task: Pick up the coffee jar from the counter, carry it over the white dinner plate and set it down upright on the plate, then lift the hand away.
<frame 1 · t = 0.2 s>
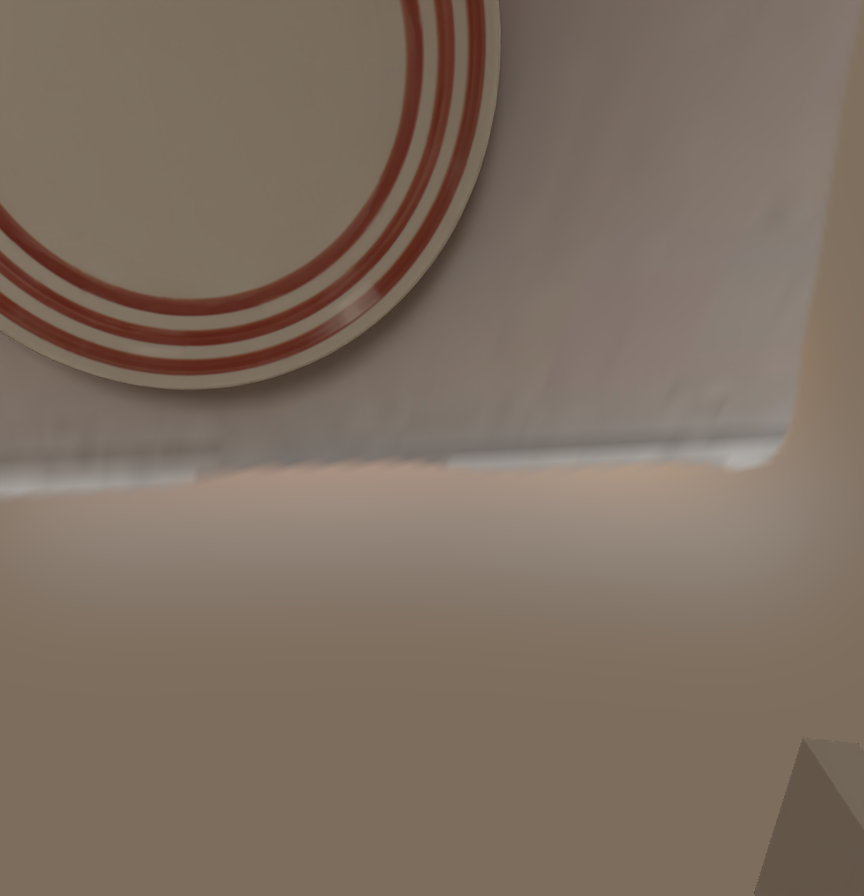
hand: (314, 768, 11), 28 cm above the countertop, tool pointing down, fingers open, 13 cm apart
dinner plate: (180, 64, 34), on the countertop
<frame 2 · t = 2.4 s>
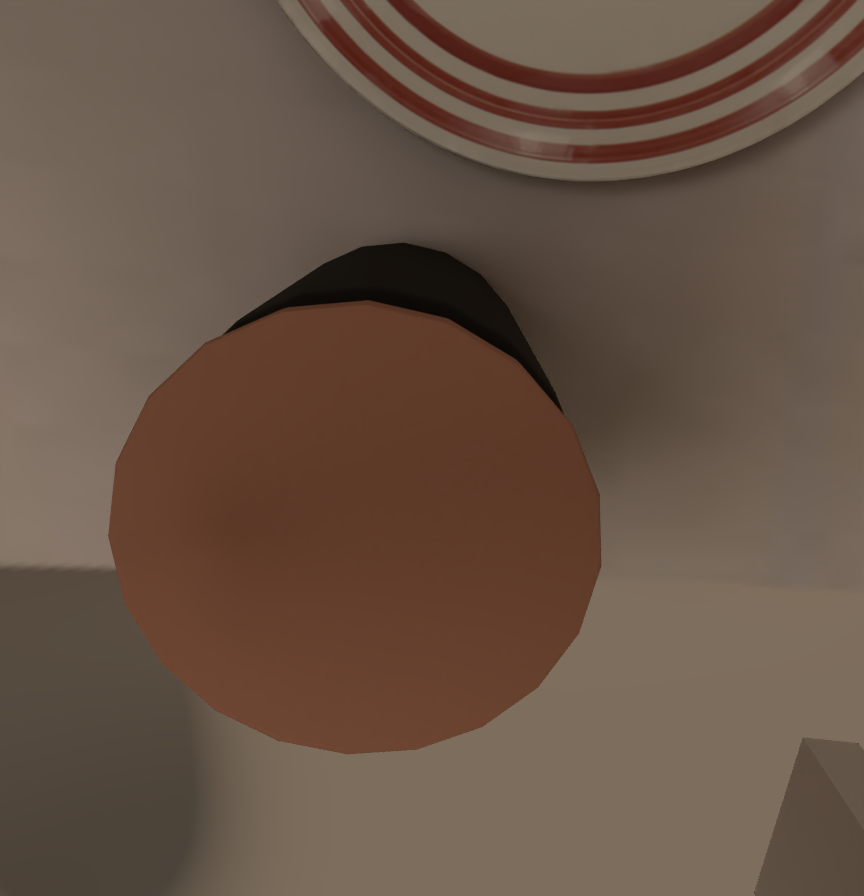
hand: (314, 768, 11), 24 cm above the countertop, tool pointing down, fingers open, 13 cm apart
coffee jar: (398, 366, 34), on the countertop
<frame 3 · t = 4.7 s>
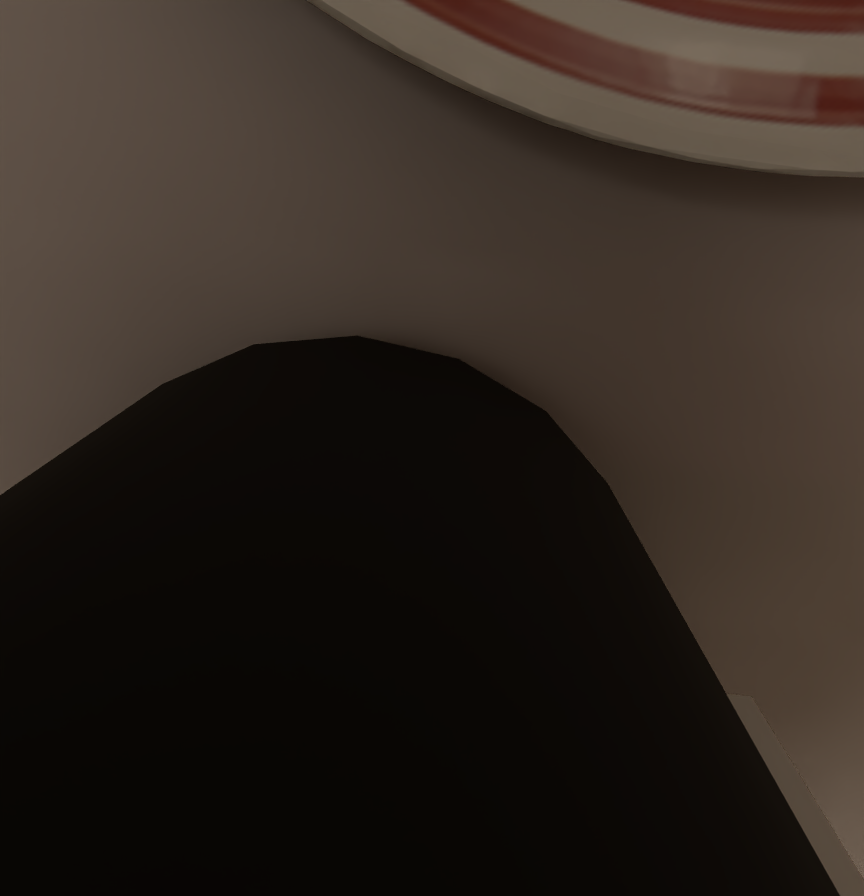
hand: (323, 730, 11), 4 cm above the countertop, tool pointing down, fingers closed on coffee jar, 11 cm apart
coffee jar: (354, 588, 15), on the countertop, touching gripper
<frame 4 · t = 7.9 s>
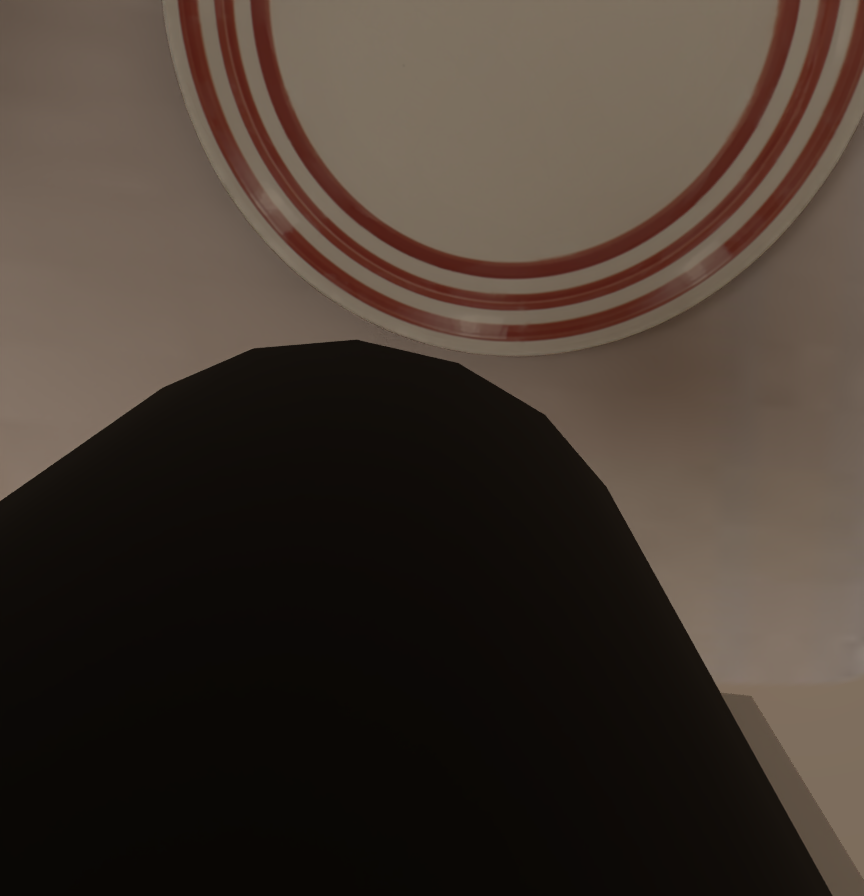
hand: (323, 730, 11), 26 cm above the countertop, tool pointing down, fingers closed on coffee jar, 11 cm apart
dinner plate: (517, 11, 32), on the countertop
coffee jar: (353, 591, 15), point 21 cm above the countertop, touching gripper
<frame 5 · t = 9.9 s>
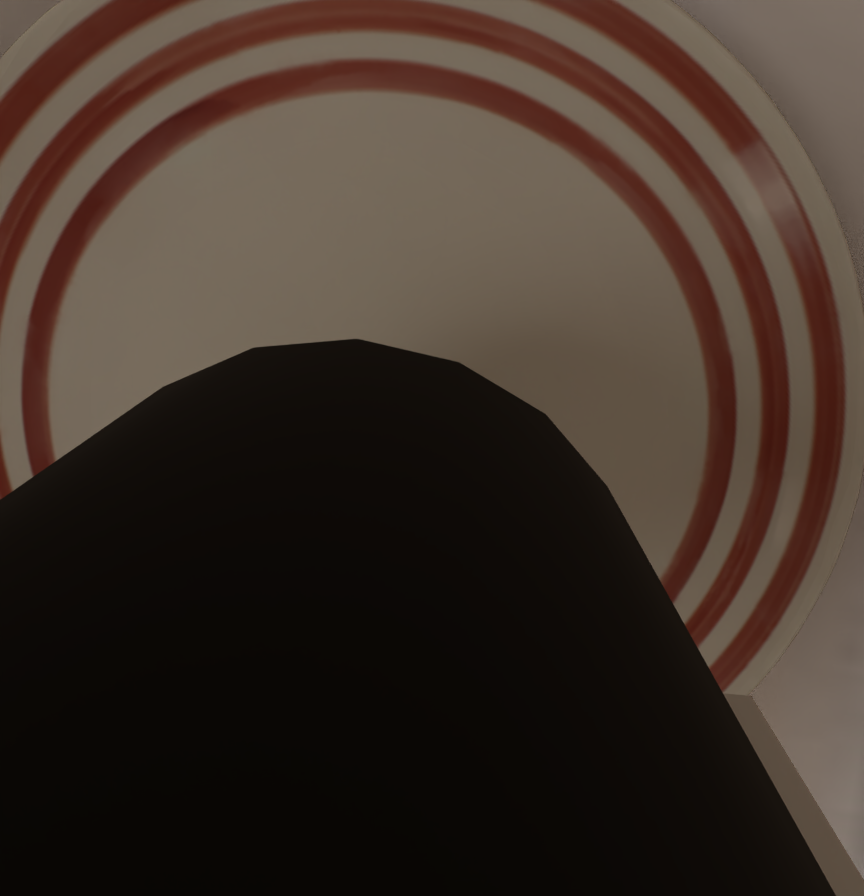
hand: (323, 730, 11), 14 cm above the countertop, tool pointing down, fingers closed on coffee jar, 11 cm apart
dinner plate: (379, 434, 25), on the countertop
coffee jar: (354, 591, 15), point 10 cm above the countertop, touching gripper
when the fingers open (8 cm above the countertop, at t = 11.5 s): coffee jar drops 1 cm, resting on dinner plate.
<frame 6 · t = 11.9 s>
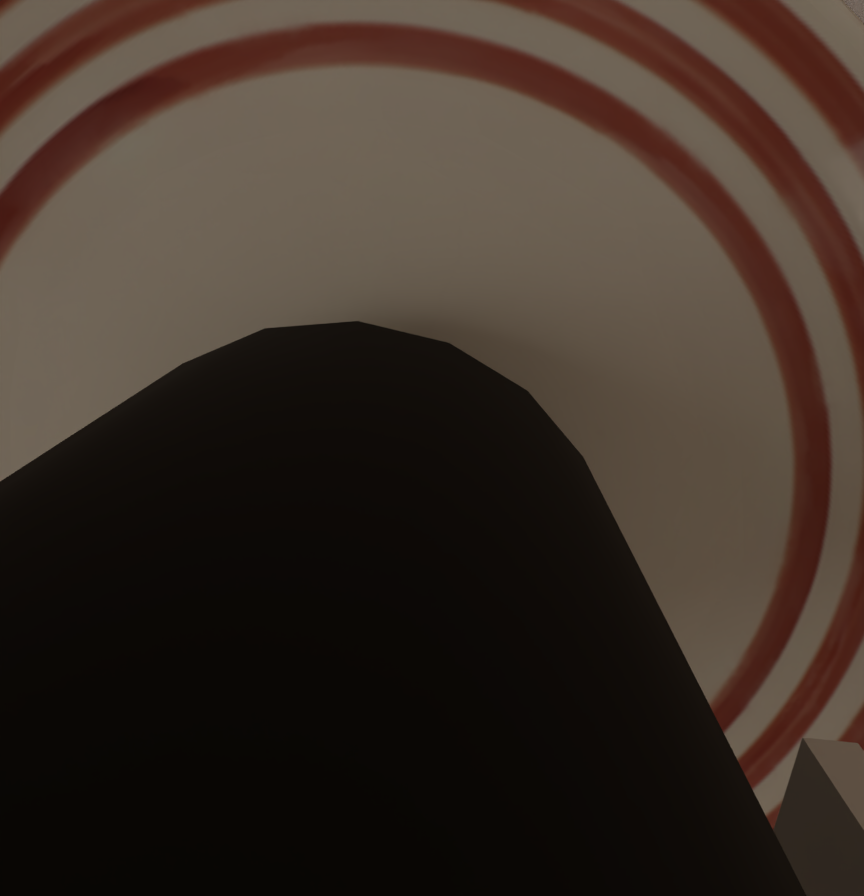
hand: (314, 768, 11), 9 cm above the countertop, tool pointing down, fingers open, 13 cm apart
dinner plate: (374, 498, 20), on the countertop, touching coffee jar
coffee jar: (354, 555, 17), point 3 cm above the countertop, touching dinner plate
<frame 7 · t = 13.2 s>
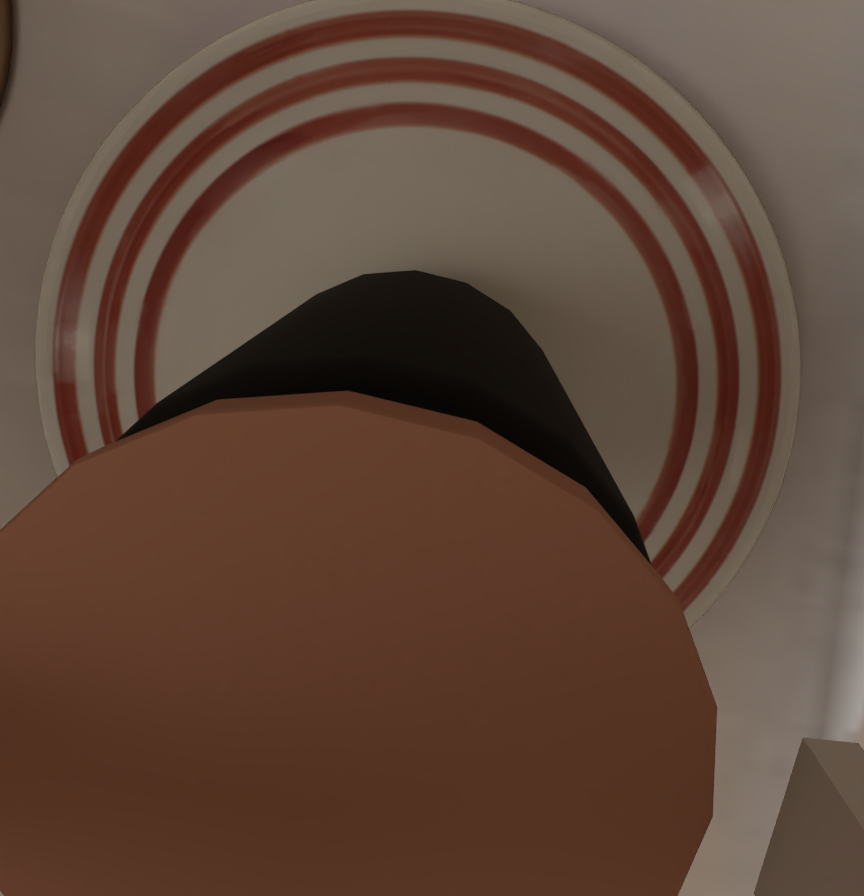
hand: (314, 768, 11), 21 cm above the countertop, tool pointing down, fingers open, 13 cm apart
dinner plate: (413, 397, 31), on the countertop, touching coffee jar
coffee jar: (406, 418, 28), point 3 cm above the countertop, touching dinner plate
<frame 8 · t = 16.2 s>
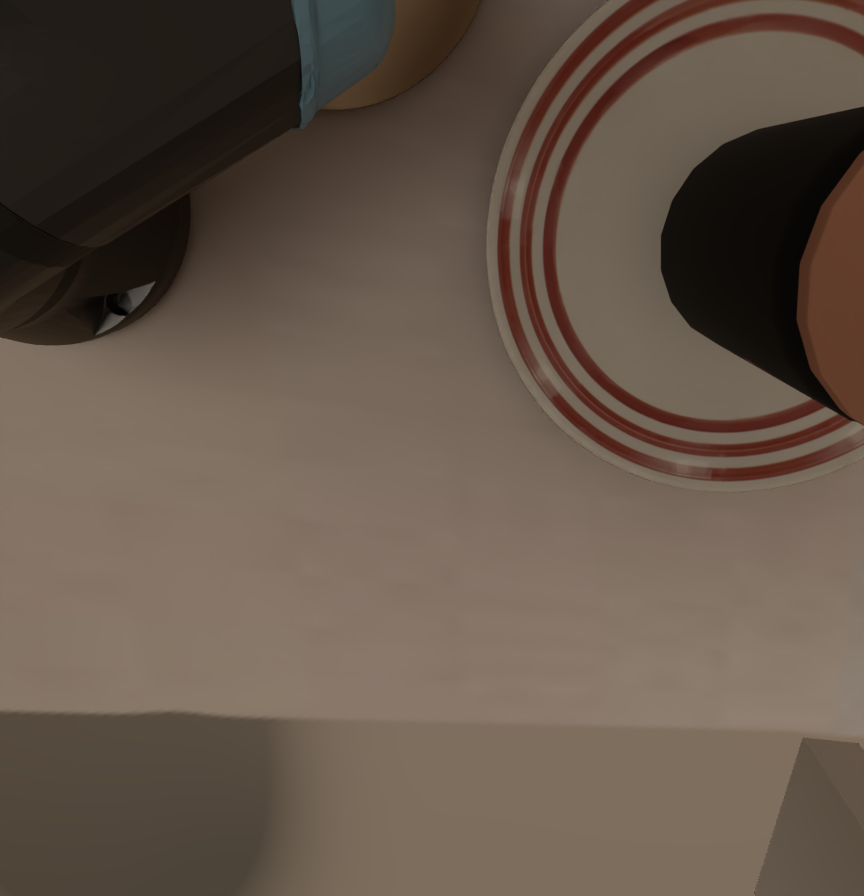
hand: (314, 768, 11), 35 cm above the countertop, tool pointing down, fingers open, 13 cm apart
dinner plate: (734, 239, 42), on the countertop, touching coffee jar
coffee jar: (759, 241, 39), point 3 cm above the countertop, touching dinner plate
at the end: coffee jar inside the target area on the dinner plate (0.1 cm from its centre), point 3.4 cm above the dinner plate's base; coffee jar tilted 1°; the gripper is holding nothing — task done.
